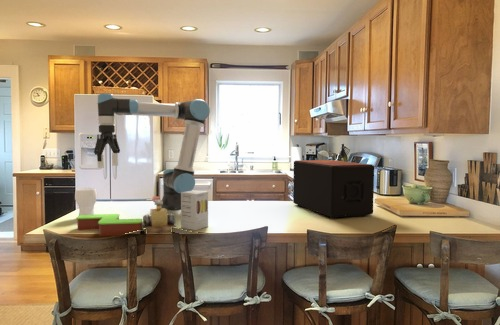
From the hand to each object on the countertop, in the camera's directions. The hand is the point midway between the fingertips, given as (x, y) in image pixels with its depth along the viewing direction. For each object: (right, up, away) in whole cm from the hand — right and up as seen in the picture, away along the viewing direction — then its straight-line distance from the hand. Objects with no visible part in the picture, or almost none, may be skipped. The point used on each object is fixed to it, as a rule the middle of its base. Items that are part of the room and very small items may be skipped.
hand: (108, 166), depth 185 cm
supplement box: (+46, -29, -14) cm, 56 cm away
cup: (-13, -27, +5) cm, 31 cm away
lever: (+28, -17, -12) cm, 35 cm away
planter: (+9, -29, -21) cm, 37 cm away
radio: (+119, -26, +27) cm, 125 cm away
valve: (+30, -27, -16) cm, 43 cm away
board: (+30, -28, -16) cm, 44 cm away
